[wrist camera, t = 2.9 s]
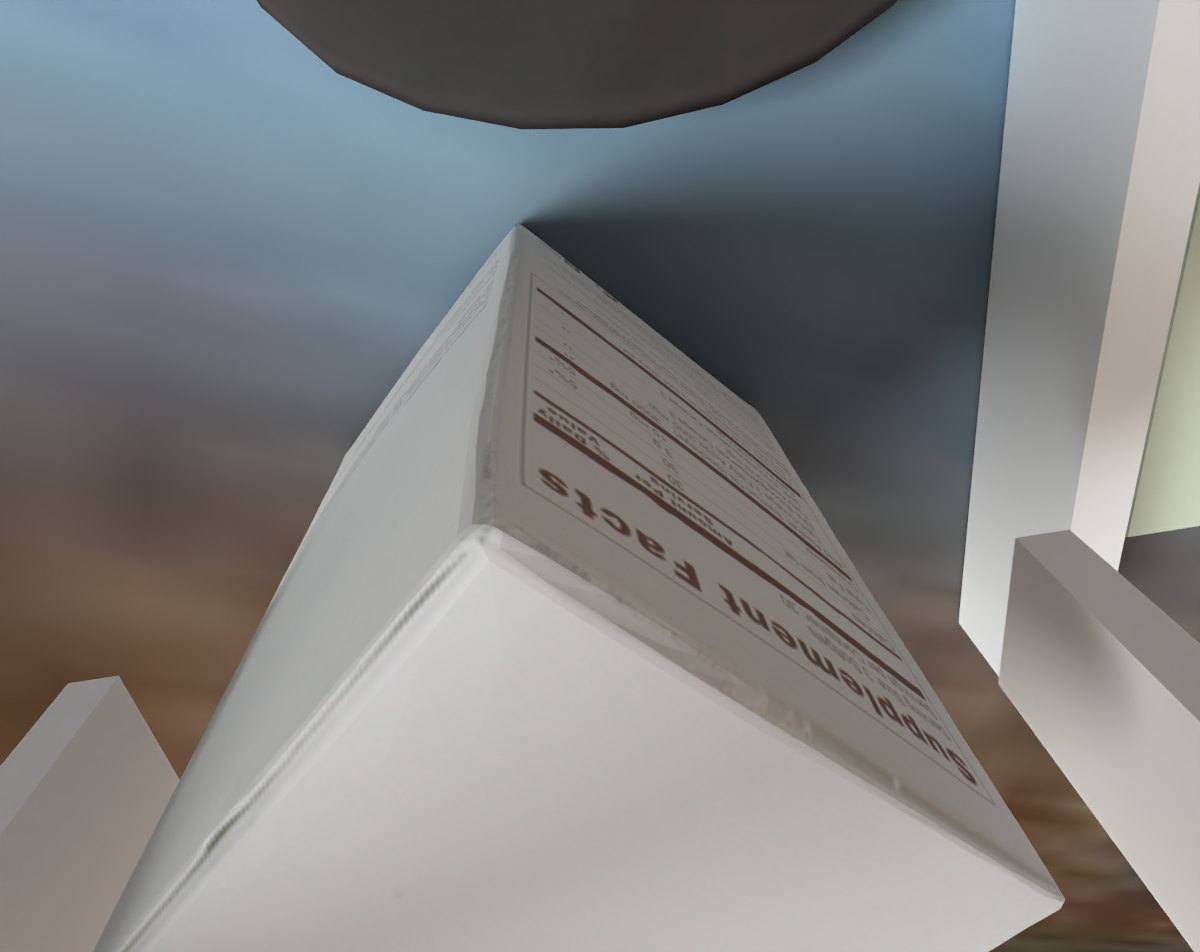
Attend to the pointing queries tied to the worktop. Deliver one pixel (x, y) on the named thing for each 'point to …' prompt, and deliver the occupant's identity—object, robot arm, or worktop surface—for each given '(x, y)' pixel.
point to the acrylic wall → (1079, 279)
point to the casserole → (570, 52)
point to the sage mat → (1174, 414)
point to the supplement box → (575, 687)
